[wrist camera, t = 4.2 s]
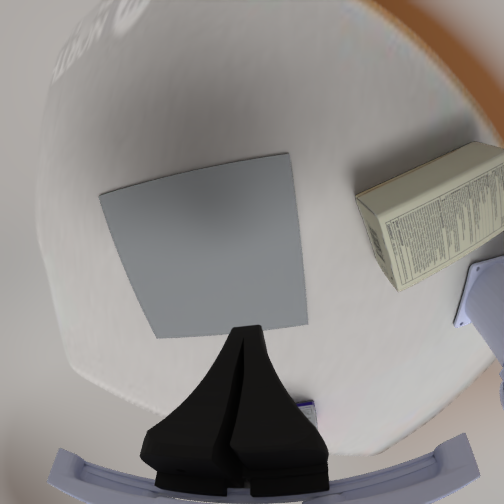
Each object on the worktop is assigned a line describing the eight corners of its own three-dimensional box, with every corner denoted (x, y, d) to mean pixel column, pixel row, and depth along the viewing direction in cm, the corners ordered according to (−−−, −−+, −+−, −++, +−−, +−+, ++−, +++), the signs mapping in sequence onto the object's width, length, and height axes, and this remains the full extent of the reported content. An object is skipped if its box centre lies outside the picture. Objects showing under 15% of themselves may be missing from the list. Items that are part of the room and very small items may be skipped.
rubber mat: (288, 153, 17) (289, 153, 17) (307, 322, 23) (308, 324, 23) (99, 195, 18) (98, 196, 18) (157, 337, 24) (156, 338, 24)
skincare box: (375, 264, 20) (483, 207, 18) (398, 296, 16) (514, 226, 14) (351, 192, 18) (472, 139, 15) (376, 213, 14) (509, 149, 11)
